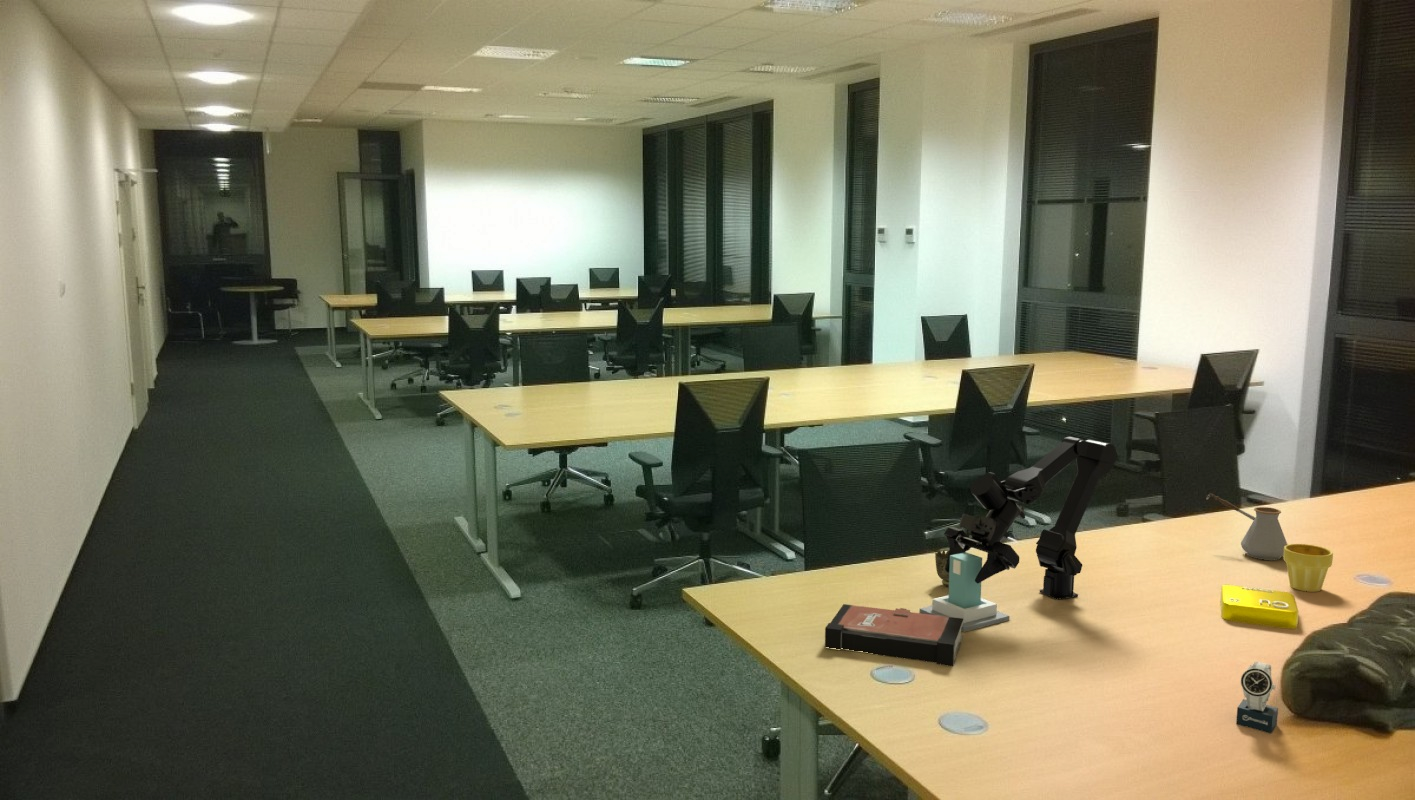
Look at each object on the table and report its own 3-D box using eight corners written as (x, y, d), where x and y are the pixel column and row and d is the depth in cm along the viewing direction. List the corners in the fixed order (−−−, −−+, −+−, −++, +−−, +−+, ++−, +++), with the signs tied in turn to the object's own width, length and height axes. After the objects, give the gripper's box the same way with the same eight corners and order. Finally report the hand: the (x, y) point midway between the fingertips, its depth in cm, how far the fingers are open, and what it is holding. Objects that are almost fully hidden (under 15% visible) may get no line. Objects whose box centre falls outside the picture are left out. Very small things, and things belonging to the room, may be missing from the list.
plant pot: (1283, 591, 248) (1287, 552, 247) (1278, 579, 258) (1281, 541, 257) (1333, 597, 245) (1336, 557, 243) (1325, 584, 254) (1329, 545, 253)
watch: (1233, 728, 178) (1238, 667, 176) (1244, 712, 184) (1249, 653, 183) (1269, 737, 175) (1274, 676, 173) (1279, 721, 181) (1284, 661, 179)
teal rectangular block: (964, 606, 235) (966, 552, 233) (980, 613, 231) (982, 557, 229) (946, 611, 233) (948, 555, 231) (962, 617, 228) (964, 561, 226)
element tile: (1292, 610, 237) (1293, 590, 236) (1297, 632, 224) (1299, 611, 223) (1219, 600, 243) (1221, 581, 243) (1221, 621, 230) (1222, 601, 229)
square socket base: (963, 601, 242) (964, 587, 241) (1009, 620, 230) (1010, 605, 229) (919, 612, 234) (919, 597, 234) (964, 632, 223) (964, 616, 222)
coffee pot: (1293, 556, 277) (1298, 502, 275) (1280, 565, 269) (1285, 509, 267) (1210, 540, 292) (1214, 489, 290) (1195, 548, 284) (1199, 496, 282)
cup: (965, 591, 249) (966, 559, 248) (934, 589, 250) (935, 557, 249) (964, 581, 256) (965, 550, 255) (933, 579, 258) (934, 549, 256)
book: (963, 637, 221) (964, 615, 220) (952, 668, 205) (953, 644, 204) (843, 622, 230) (844, 601, 229) (824, 650, 214) (825, 627, 213)
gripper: (950, 492, 238) (913, 545, 234) (1012, 510, 222) (974, 567, 218) (974, 520, 243) (938, 573, 239) (1036, 539, 228) (998, 596, 224)
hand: (960, 576), depth 230 cm, fingers open, 9 cm apart
